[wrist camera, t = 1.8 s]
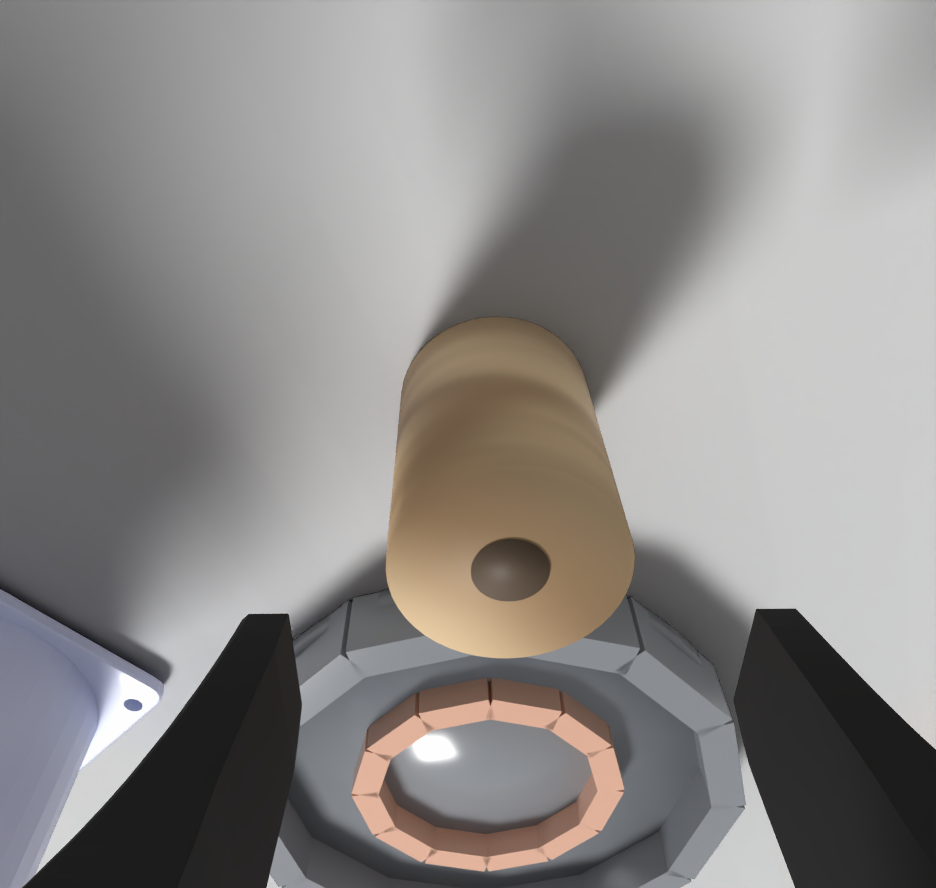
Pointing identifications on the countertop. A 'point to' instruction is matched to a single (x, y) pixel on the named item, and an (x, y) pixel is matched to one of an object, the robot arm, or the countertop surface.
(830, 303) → the countertop surface
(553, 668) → the round tray
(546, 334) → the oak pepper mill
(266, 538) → the countertop surface
